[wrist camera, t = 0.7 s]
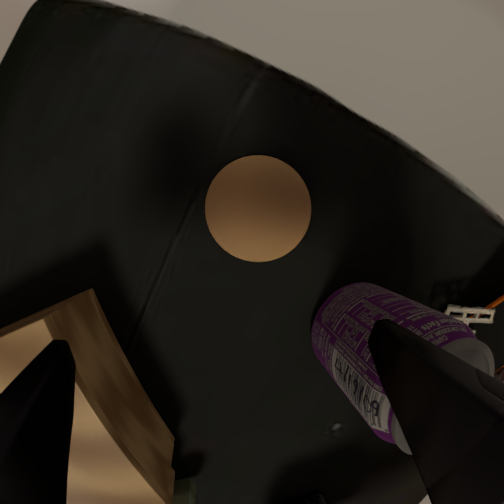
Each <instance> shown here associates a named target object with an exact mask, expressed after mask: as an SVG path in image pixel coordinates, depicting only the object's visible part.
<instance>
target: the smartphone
mask: <svg viewBox="0 0 504 504" xmlns="http://www.w3.org/2000/svg"><path fill="white" fill-rule="evenodd" d="M493 307H494V308H495V309H494V308H493ZM483 309H484V308H483ZM485 309H493V310H495V314H494V317H493V323H492V324H491V323H490V324H487V323H477V324H476V323H470V322H469V324H468V327H470V329H471V330H476V334H475V336H476V338H477V339H478V340H479V341H481V342H483V343H485V344H486V345H487V346H488V347H489V348H490V350H491V352H492V354H493V358H494V364H495V371H494V373H495V372H496V371H498V370H499V369H501V368H502V367H504V295H502V296H501V297H499V298H498V299H497V300H495V301H494V302H492V303H491V304H489V305H488V306H486V307H485ZM476 315H477V314H476ZM490 316H491V314H480V315H479V317H478V319H479V318H480V317H481V318H486V317H487V318H489V319H490ZM469 318H474V315H473V316H472V315H471V316H469ZM466 325H467V324H466Z"/></svg>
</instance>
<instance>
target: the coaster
mask: <svg viewBox="0 0 504 504" xmlns="http://www.w3.org/2000/svg"><path fill="white" fill-rule="evenodd" d="M205 216H206V222H207V225H208V228H209V230H210V232H211V234H212V236H213V237H214V239H215V240H216V242H217V243H218V244H219V245H220V246H221V247H222V248H223V249H224V250H225V251H227V252H228V253H230V254H231V255H233V256H235V257H237V258H239V259H242V260H246V261H251V262H266V261H271V260H274V259H277V258H280V257H282V256H284V255H286V254H287V253H289V252H290V251H291V250H292V249H294V248H295V247H296V246H297V245H298V243H299V242H300V241H301V240H302V238H303V237H304V235H305V233H306V231H307V229H308V226H309V223H310V218H311V200H310V195H309V192H308V189H307V187H306V185H305V183H304V181H303V180H302V178H301V177H300V175H299V174H298V173H297V172H296V171H295V170H294V169H293V168H292V167H291V166H289V165H288V164H286V163H285V162H283V161H281V160H279V159H276V158H273V157H269V156H263V155H252V156H246V157H242V158H239V159H237V160H235V161H233V162H231V163H229V164H228V165H226V166H225V167H224V168H223V169H222V170H221V171H220V172H219V173H218V174H217V175H216V176H215V178H214V179H213V181H212V183H211V184H210V186H209V189H208V192H207V195H206V200H205Z"/></svg>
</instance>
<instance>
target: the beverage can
mask: <svg viewBox="0 0 504 504" xmlns="http://www.w3.org/2000/svg"><path fill="white" fill-rule="evenodd" d="M380 319H390V320H392V321H393V322H395V323H397V324H399V325H401V326H402V327H404V328H406V329H408V330H410V331H411V332H413V333H415V334H417V335H418V336H420V337H422V338H424V339H426V340H427V341H429V342H431V343H433V344H435V345H436V346H438V347H440V348H442V349H444V350H445V351H447V352H449V353H451V354H452V355H454V356H456V357H458V358H460V359H461V360H463V361H465V362H467V363H469V364H470V365H472V366H474V367H475V368H477V369H479V370H481V371H483V372H485V373H486V374H488V375H490V376H492V377H494V371H495V364H494V358H493V354H492V352H491V350H490V348H489V347H488V346H487V345H486V344H485V343H483V342H481V341H479V340H478V339H477V338H476V336H475V334H474V333H473V331H472V330H471V329H470V327H468V326H467V325H466V324H465V323H463V322H461V321H459V320H457V319H455V318H453V317H450V316H448V315H446V314H444V313H441V312H439V311H437V310H434V309H432V308H430V307H427V306H425V305H423V304H420V303H418V302H416V301H413V300H411V299H409V298H406V297H404V296H401V295H399V294H397V293H394V292H392V291H390V290H387V289H385V288H382V287H380V286H378V285H375V284H372V283H367V282H359V283H353V284H349V285H346V286H344V287H342V288H340V289H339V290H337V291H335V292H334V293H333V294H332V295H330V296H329V297H328V298H327V299H326V301H325V302H324V303H323V304H322V306H321V307H320V309H319V310H318V312H317V314H316V316H315V319H314V322H313V326H312V332H311V342H312V347H313V350H314V353H315V355H316V357H317V358H318V360H319V361H320V362H321V364H322V365H323V366H324V368H325V369H326V370H327V372H328V373H329V374H330V376H331V377H332V378H333V379H334V381H335V382H336V383H337V385H338V386H339V387H340V389H341V390H342V391H343V393H344V394H345V395H346V396H347V398H348V399H349V400H350V402H351V403H352V404H353V406H354V407H355V408H356V410H357V411H358V412H359V413H360V415H361V416H362V417H363V419H364V420H365V421H366V423H367V424H368V425H369V426H370V428H371V429H372V430H373V431H374V432H375V434H376V435H377V436H378V437H380V438H381V439H383V440H385V441H387V442H390V443H393V444H397V445H398V447H399V448H400V449H401V450H402V451H403V452H405V453H407V454H410V455H412V453H411V451H410V448H409V446H408V443H407V441H406V439H405V436H404V434H403V432H402V430H401V427H400V425H399V423H398V420H397V418H396V416H395V414H394V411H393V409H392V407H391V405H390V403H389V400H388V398H387V396H386V394H385V392H384V389H383V387H382V384H381V382H380V379H379V376H378V373H377V370H376V367H375V364H374V361H373V359H372V356H371V353H370V350H369V347H368V338H369V336H370V333H371V331H372V328H373V325H374V323H375V322H376V321H377V320H380Z"/></svg>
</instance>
